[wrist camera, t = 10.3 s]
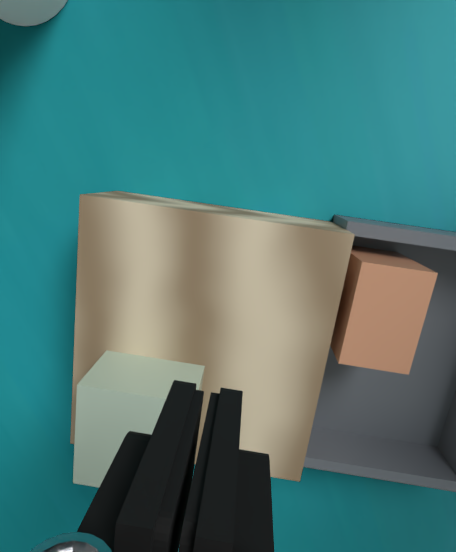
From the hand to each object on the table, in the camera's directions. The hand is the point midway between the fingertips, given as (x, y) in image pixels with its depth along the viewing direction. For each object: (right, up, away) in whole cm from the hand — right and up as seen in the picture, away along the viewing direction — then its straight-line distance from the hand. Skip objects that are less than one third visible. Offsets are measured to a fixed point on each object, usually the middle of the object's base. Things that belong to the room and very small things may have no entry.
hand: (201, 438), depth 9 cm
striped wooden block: (-1, +1, +19) cm, 19 cm away
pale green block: (-4, -4, +15) cm, 16 cm away
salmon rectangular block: (+8, +3, +15) cm, 17 cm away
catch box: (+13, -1, +19) cm, 23 cm away
